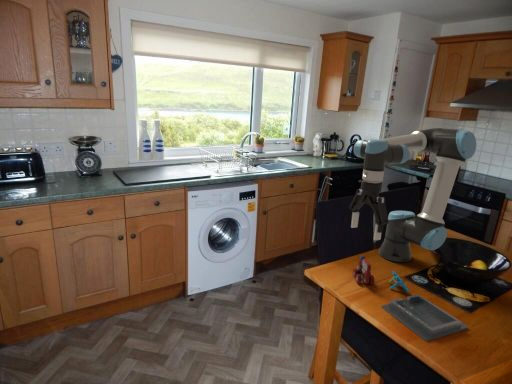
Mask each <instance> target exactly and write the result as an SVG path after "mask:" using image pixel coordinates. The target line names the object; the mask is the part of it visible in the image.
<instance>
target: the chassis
mask: <svg viewBox="0 0 512 384" xmlns="http://www.w3.org/2000/svg"><path fill="white" fill-rule="evenodd" d="M381 309H383V310H384V311H385V312H387V313H389V314H390V315H391V316H392V317H393V318H395V319H396V320H398V321H399V322H400V323H401V324H402V325H404V326H405V327H406V328H408V329H409V330H410V331H412V332H413V333H415V335H417V336H418V337H420V338H421V339H422V340H424V341H425V342H430V341H432V340H436V339H439V338H442V337H446V336H449V335H452V334H456V333H458V332H462V331H466V330H468V329H469V326H468V325H467V324H465V323H463V321H461V320H459V319H458V318H457V317H455V316H453V315H451V313H449V312H448V311H446V310H444V309H442V308H441V307H440V306H437V305H436V304H434V303H432V302H431V301H429V300H428V299H427V298H425V297H424V296H422V295H420V294H418V293H417V294H412V295H409V296H407V297H406V299H404V298H403V297H401V298H395V299H391V300H389V303H387V304H382V305H381Z"/></svg>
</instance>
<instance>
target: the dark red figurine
mask: <svg viewBox="0 0 512 384" xmlns="http://www.w3.org/2000/svg"><path fill="white" fill-rule="evenodd" d="M371 270H372V265H371V263H370V262H369V261H368V259H367V258H366V256H365V255H360V257H359V260H358V262H357V268H353V269H352V276H353V277H354V279H355V282H356V284H358V285H361V284H362V282H363V283H364V284H368V285H372V286H373V285H375V277H374V275H373V274H372V273H371Z"/></svg>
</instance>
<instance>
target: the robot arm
mask: <svg viewBox="0 0 512 384" xmlns="http://www.w3.org/2000/svg"><path fill="white" fill-rule="evenodd" d="M476 150H477V139H476V136H475V134H474V133H473V132H472V131H470V130H464V129H454V128H453V129H452V128H442V127H435V128H426V129H421V130H415V131H413V132H411V133H410V134H404V135H403V134H402V135H398V136H390V137H387V138H386V137H385V138H379V139H377V138H375V139H374V138H371V139H368V140H366V139H359V140H357V141H356V142H355V143H354V145H353V154H354V156H356V157H357V158H361V159H364V160H363V161H364V162H363V170H362V174H361V175H362V176H361V177H362V178H361V179H362V180H361V184H360V188H357V189H356V191H355V194H354V196H353V198H352V200H351V202H350V204H349V206H348V209H349V210H351V221H350V222H351V225H350V228H352V229H353V228H354V229H355V228H358V225H359V220H360V219H359V217H360V209H361V208H363V206H364V205H368V206H369V207H370V208H371V210H372V211H373V212H372V213H373V214H374V217H375V220H376V223H375V226H374V235H373V241H380V240H382V239H381V238H382V233H383V232H384V226H385V225H386V229H385V235H384V240H383V241H382V243H381V245H380V246H379V248H378V249H379V250H378V254H379V256H380V257H382V258H384V259H385V260H388V261H391V262H396V263H407V262H410V261H412V251H411V243H412V244H413V245H417V246H419V247H421V248H422V249H426V250H429V251H435V250H437V249H439V248H440V247H442V246H443V244H444V243H445V241H446V240H447V236H448V229H447V228H446V227H445V224H446V223H445V220H444V219H443V217H444V215H445V211H446V208H447V205H448V201H449V199H450V197H451V192H452V190H453V187H454V184H455V181H456V178H457V175H458V171H459V169H460V167H461V166H462V165H464V164H465V163H466V160H468V159H471V158H473V156H474V155H475V153H476ZM412 151H413V152H415V153H420V152H424V153H431V154H434V155H435V154H436V155H435V159H436V161H437V164H436V167H435V170H434V173H433V176H432V180H431V182H430V186H429V188H428V192H427V196H426V198H425V201H424V204H423V207H422V211H421V212H420V213H418V214H417V215H416V214H415V213H414V212H413V211H410V210H409V211H408V210H393V211H390V212H389V214H388V211H387V206H386V197H385V196H382V197H380V193H381V192H382V189H383V181H384V174H385V167H386V165H389V166H390V165H402V164H404V163H406V162H407V161H408V160H409V158H410V152H412Z"/></svg>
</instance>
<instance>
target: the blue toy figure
mask: <svg viewBox="0 0 512 384" xmlns="http://www.w3.org/2000/svg"><path fill="white" fill-rule="evenodd" d="M391 273H392V275H393V276H392V278H391V279H389V280H388V283H392V282H393V281H394V282H395V283H394V284H393V285H391V286H389V288H390V290H393V289H395V288H396V287H399V286H401V287H402V288H403V290H405V292H406V293H407V294H409V293H411V291H410V290H409V288H408V287H407V285H406V284H405V283H404V280H403V279H401V278H400V276H399V275H398V273H396V272H395V271H394V270H393V271H391Z"/></svg>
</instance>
